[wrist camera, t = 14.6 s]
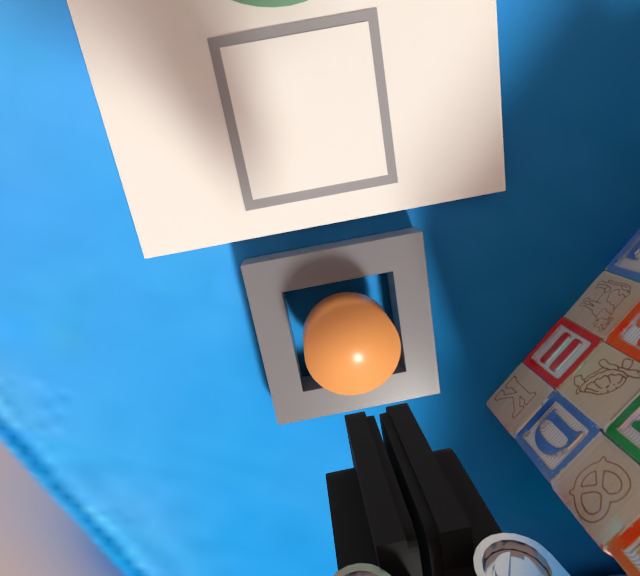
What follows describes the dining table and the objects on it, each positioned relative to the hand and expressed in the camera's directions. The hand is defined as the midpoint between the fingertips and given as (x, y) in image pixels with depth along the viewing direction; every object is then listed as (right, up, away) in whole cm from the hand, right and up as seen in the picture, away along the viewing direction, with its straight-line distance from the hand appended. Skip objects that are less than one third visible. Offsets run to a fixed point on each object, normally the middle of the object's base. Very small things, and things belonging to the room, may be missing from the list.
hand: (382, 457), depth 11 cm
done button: (0, +2, +8) cm, 9 cm away
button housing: (0, +3, +10) cm, 10 cm away
